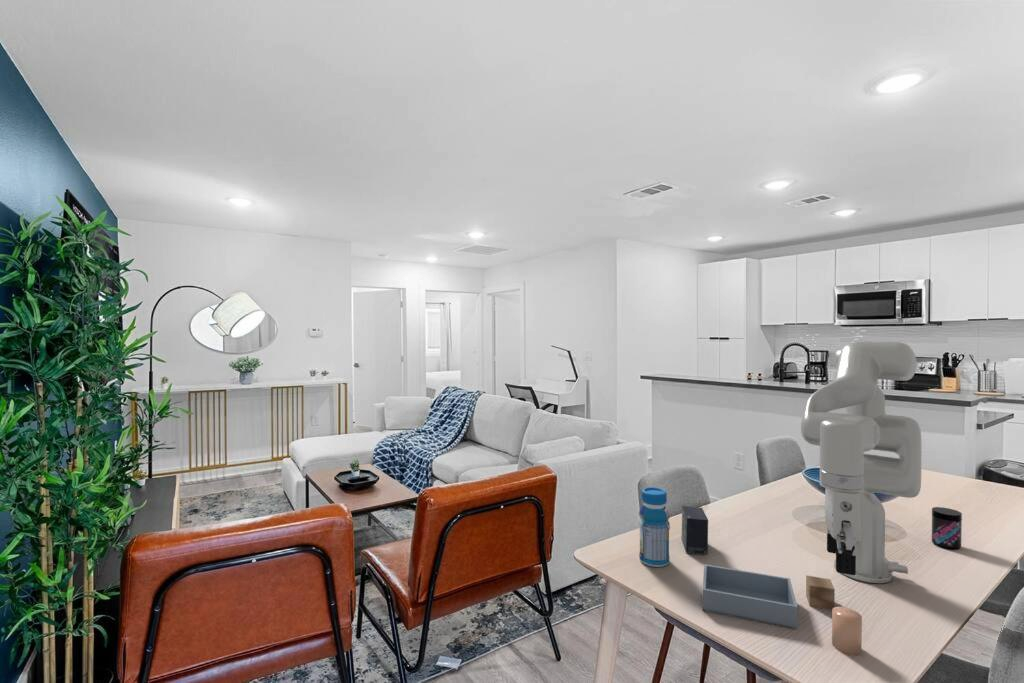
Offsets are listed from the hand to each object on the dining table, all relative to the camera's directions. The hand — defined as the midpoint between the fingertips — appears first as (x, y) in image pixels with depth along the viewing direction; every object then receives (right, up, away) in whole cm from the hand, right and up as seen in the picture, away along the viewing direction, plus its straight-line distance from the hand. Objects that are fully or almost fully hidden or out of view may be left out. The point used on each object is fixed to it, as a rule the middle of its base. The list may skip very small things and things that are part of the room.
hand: (840, 562), depth 102 cm
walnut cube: (+6, -17, +16) cm, 24 cm away
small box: (-13, -16, +46) cm, 51 cm away
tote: (-12, -17, +15) cm, 26 cm away
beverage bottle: (-28, -17, +37) cm, 49 cm away
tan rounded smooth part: (+1, -17, -1) cm, 17 cm away
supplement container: (+62, -15, +45) cm, 78 cm away
